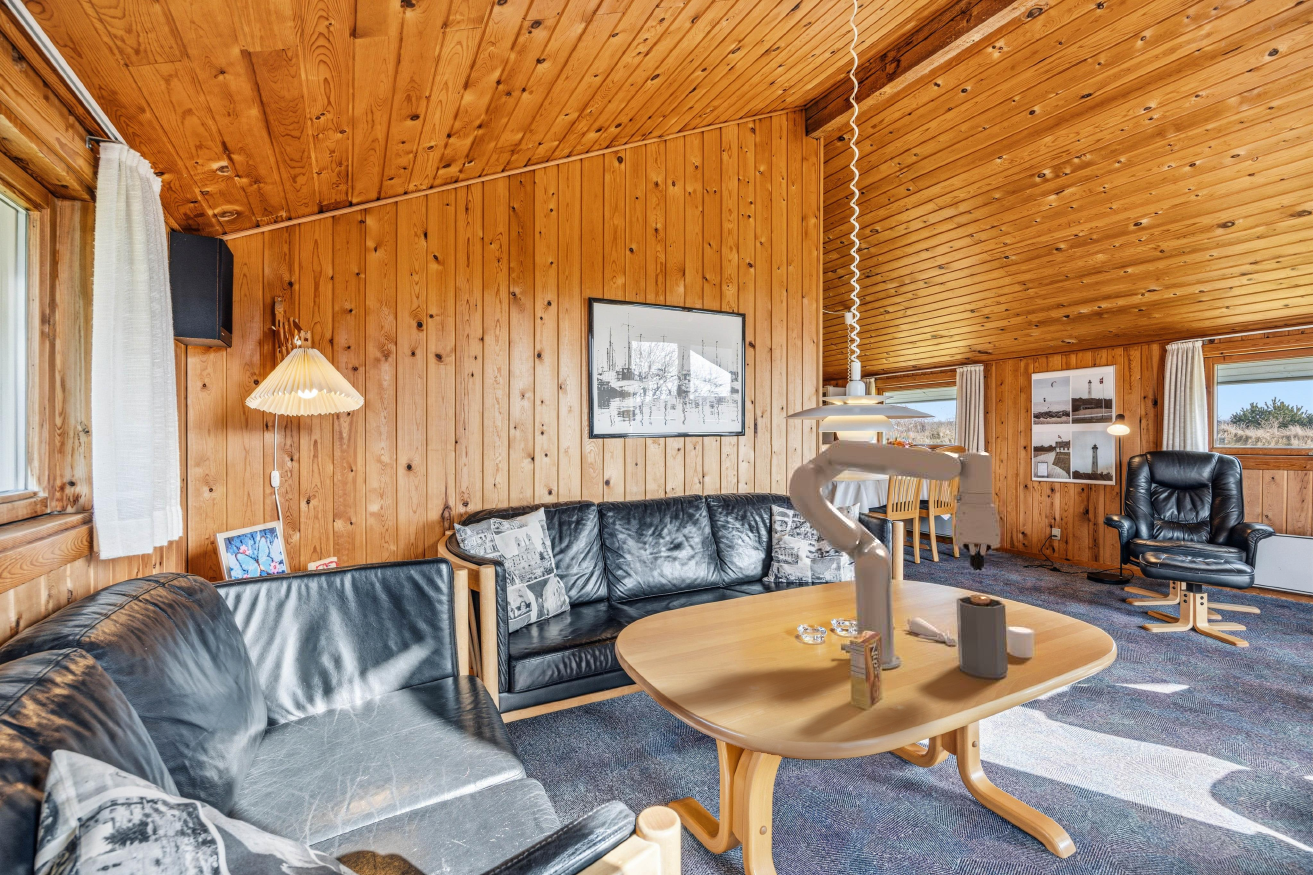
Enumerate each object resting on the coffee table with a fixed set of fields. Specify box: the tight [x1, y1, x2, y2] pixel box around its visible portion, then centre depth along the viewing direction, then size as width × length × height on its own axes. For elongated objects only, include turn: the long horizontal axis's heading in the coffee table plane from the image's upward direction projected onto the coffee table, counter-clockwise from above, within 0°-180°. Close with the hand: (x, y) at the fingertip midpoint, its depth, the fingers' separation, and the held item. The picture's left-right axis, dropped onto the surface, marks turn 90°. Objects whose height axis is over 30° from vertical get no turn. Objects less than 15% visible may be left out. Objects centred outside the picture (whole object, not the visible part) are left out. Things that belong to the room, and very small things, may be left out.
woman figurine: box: [906, 617, 958, 647], centre depth 180 cm, size 12×4×18 cm
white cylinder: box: [1006, 625, 1035, 659], centre depth 164 cm, size 7×7×7 cm
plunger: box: [970, 594, 990, 607], centre depth 153 cm, size 8×8×17 cm
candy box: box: [849, 631, 884, 711], centre depth 137 cm, size 9×4×15 cm, turn 137°
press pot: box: [956, 595, 1009, 680], centre depth 155 cm, size 11×14×18 cm
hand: (976, 569), depth 153 cm, fingers closed
